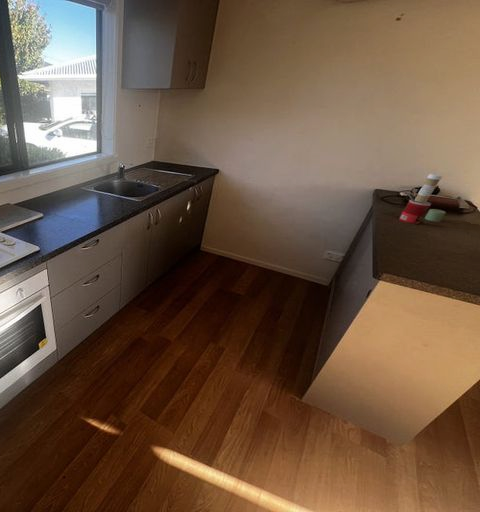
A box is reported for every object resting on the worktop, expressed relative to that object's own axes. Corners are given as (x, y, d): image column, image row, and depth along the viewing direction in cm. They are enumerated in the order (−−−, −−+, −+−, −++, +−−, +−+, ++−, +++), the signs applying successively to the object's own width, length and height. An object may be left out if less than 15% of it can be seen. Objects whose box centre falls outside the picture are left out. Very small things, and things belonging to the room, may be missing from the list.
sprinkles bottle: (417, 199, 149) (433, 173, 142) (428, 202, 145) (445, 175, 138) (411, 200, 148) (427, 173, 141) (422, 203, 144) (438, 176, 137)
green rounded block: (430, 217, 157) (435, 208, 155) (443, 221, 152) (449, 212, 150) (421, 218, 156) (426, 209, 154) (434, 222, 151) (440, 213, 149)
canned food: (417, 226, 147) (430, 205, 141) (396, 221, 152) (408, 201, 147) (419, 222, 151) (432, 202, 146) (399, 217, 156) (410, 198, 151)
